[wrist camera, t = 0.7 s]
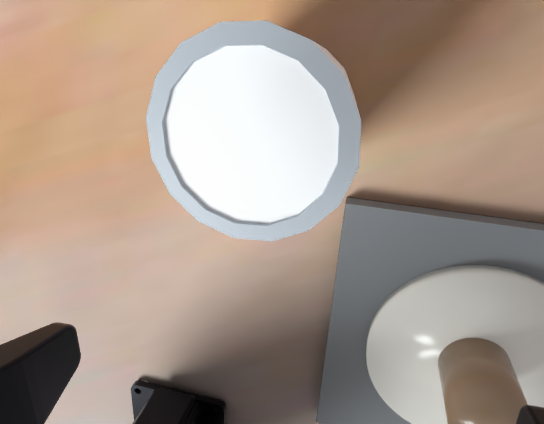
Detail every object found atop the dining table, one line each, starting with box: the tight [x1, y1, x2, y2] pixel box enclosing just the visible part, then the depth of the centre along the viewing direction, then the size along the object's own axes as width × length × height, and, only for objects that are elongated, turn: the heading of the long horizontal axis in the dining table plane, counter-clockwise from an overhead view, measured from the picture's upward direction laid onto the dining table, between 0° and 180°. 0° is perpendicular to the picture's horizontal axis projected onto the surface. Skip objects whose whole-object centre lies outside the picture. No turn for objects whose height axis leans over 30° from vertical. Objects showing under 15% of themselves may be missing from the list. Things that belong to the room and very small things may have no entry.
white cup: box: [146, 21, 362, 241], centre depth 16 cm, size 7×7×7 cm
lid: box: [366, 265, 544, 424], centre depth 19 cm, size 10×10×5 cm
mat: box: [316, 197, 544, 424], centre depth 21 cm, size 14×14×1 cm
